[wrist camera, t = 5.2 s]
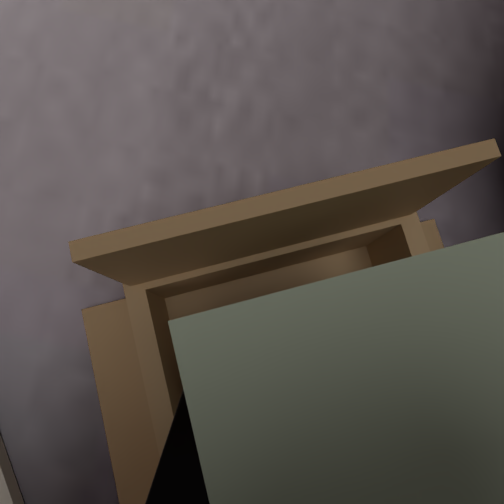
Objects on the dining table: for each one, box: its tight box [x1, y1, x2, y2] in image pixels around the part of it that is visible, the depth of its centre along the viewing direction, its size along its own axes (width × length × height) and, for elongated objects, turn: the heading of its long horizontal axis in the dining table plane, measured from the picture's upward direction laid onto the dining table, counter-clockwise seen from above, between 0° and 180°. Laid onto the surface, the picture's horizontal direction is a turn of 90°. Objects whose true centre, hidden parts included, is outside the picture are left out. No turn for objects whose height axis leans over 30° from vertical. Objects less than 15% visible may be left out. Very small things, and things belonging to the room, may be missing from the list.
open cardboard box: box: [69, 138, 501, 504], centre depth 12 cm, size 12×14×8 cm
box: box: [168, 232, 504, 504], centre depth 10 cm, size 5×5×11 cm
